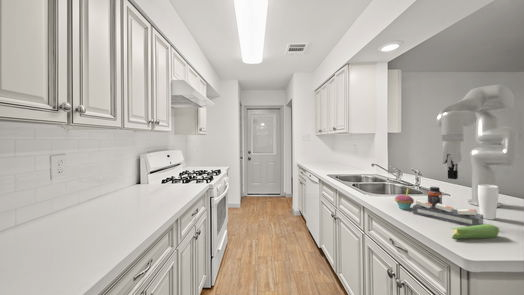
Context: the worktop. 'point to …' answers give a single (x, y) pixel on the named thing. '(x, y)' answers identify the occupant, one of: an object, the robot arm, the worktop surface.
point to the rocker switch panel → (448, 215)
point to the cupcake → (404, 201)
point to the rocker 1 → (424, 203)
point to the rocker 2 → (444, 207)
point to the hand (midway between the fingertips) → (452, 178)
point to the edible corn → (476, 231)
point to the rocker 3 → (467, 211)
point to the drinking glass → (488, 200)
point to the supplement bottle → (434, 196)
